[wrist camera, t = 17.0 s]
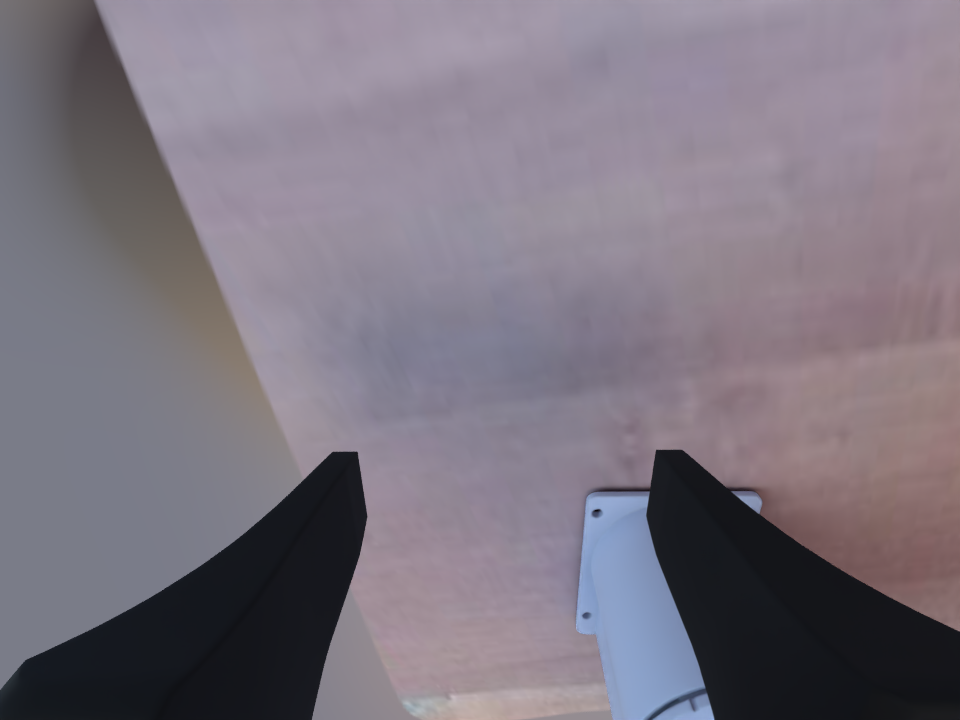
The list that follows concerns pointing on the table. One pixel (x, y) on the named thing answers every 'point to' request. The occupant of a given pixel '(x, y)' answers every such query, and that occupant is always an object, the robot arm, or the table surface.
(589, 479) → the table surface
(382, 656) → the table surface
